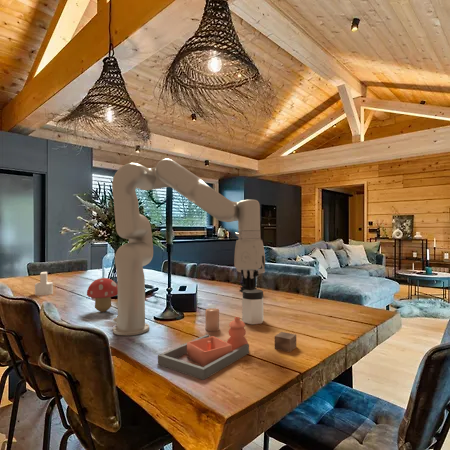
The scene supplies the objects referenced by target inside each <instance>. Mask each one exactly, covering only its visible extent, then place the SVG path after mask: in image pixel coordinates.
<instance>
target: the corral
mask: <svg viewBox="0 0 450 450" xmlns="http://www.w3.org/2000/svg"><path fill="white" fill-rule="evenodd" d="M207 337H210V334H204V335H203V336H200V337H198V338H195V339H193V340H192V339H191V341H195V340H199V339H203V338H207ZM191 341H189V342H191ZM185 354H186V355H187V342H185V343H183V344H181V345H179V346H176V347H174V348H171V349H169V350H166V351H164V352H162V353H159V354H157V365H159V366H161V367H165V368H168V369H171V370H173V371H176V372H180V373H181V374H186V375H188V376H191V377H194V378H197V379H199V380H202V381H203V380H206V379H208V378H209V377H211V376H213V375H214V374H216V373H218V372H220V371H221V370H223V369H225V368H227V367H228V366H230V365H231V364H233V363H235V362H236V361H238V360H240V359H242V358H243V357H245V356H247V355H249V354H250V344H249V343H248V344H245V345H243V346H241V347H239V348H237V349H236V350H234V351H232V352H230V353H228V354H226V355H225V356H223V357H221V358H219V359H217V360H215V361H213V362H212V363H210V364H208V365H206V366H204V367H203V366H202V365H197V364H194V363H190V362H187V361H185V360H181V359H178V358H179V357H181V356H184V355H185Z"/></svg>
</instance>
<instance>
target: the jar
mask: <svg viewBox="0 0 450 450" xmlns="http://www.w3.org/2000/svg"><path fill="white" fill-rule="evenodd" d="M241 321H243V322H244V323H245V324H247V325H248V324H249V325H259V324H263V322H264V291H263V290H261V289H259V288H258V289H254V290H243V293H242V298H241Z"/></svg>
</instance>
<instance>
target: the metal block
mask: <svg viewBox="0 0 450 450" xmlns="http://www.w3.org/2000/svg"><path fill="white" fill-rule="evenodd" d="M296 348H297V334H296V333H290V332H285V331H281V332H279V333H277V334H276V335H274V350H279V351H284V352H288V353H291V352H293V351H294V349H296Z"/></svg>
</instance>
